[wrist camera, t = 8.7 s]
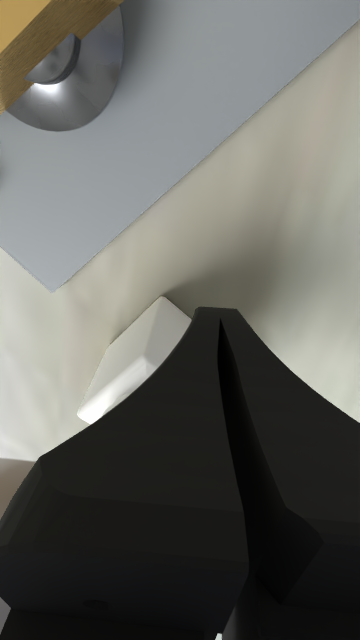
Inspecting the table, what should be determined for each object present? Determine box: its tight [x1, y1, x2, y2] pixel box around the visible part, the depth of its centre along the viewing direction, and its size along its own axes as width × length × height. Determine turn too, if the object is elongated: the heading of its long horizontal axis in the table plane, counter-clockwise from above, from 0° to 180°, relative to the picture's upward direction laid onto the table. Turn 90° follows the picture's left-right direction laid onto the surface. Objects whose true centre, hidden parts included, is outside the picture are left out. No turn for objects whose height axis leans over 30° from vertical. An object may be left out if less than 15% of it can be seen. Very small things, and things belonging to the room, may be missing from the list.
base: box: [0, 0, 360, 293], centre depth 13 cm, size 22×16×2 cm
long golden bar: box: [0, 0, 125, 132], centre depth 10 cm, size 7×13×4 cm, turn 120°
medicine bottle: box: [77, 296, 192, 424], centre depth 18 cm, size 7×7×12 cm
